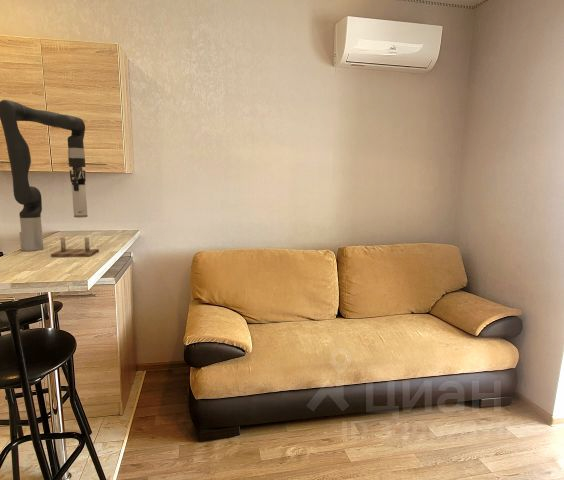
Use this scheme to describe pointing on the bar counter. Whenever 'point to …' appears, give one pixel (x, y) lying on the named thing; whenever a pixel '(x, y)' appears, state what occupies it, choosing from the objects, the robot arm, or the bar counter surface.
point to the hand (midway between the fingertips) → (79, 190)
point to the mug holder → (75, 250)
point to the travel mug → (80, 200)
